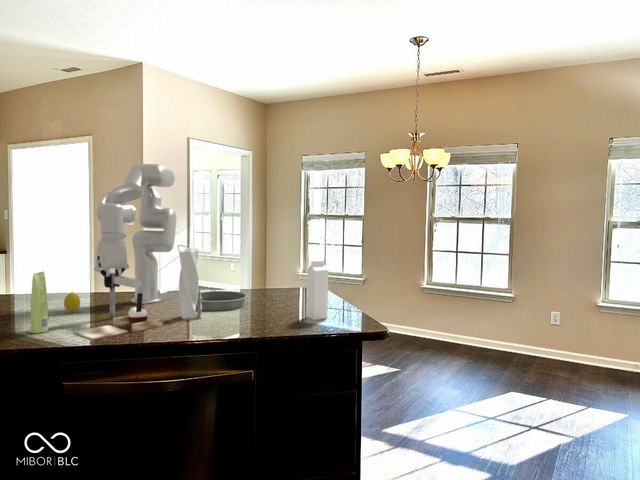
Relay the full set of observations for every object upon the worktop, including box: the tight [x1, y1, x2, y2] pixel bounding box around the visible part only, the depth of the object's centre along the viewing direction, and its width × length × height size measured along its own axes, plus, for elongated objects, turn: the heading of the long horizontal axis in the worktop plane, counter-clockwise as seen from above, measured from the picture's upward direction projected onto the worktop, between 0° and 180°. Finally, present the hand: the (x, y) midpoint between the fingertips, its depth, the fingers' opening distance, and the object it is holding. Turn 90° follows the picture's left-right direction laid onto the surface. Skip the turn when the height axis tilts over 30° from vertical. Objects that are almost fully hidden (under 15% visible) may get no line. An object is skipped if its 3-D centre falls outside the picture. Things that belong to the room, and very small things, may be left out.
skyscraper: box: [177, 244, 203, 321], centre depth 174 cm, size 8×8×28 cm
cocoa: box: [127, 293, 148, 326], centre depth 159 cm, size 10×6×12 cm, turn 8°
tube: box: [30, 271, 49, 334], centre depth 149 cm, size 6×5×20 cm
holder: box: [112, 315, 163, 332], centre depth 160 cm, size 11×13×2 cm
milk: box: [306, 260, 329, 321], centre depth 177 cm, size 6×6×22 cm
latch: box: [109, 272, 141, 320], centre depth 165 cm, size 20×3×17 cm, turn 53°
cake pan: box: [196, 290, 248, 311], centre depth 199 cm, size 25×25×4 cm
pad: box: [72, 324, 129, 341], centre depth 149 cm, size 12×12×1 cm
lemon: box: [63, 291, 81, 313], centre depth 179 cm, size 6×6×8 cm
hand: (112, 286), depth 169 cm, fingers closed on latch, 2 cm apart
